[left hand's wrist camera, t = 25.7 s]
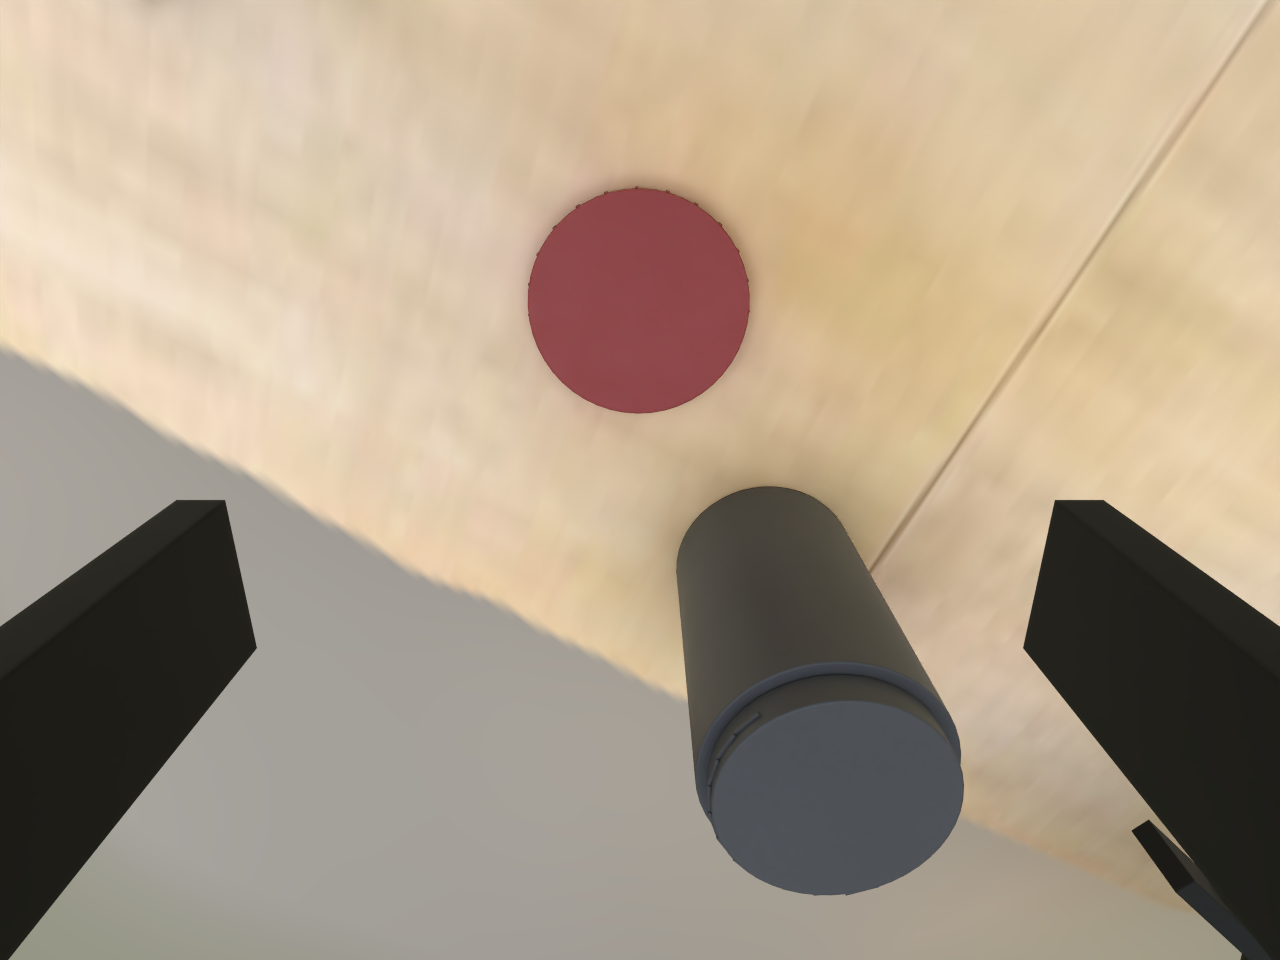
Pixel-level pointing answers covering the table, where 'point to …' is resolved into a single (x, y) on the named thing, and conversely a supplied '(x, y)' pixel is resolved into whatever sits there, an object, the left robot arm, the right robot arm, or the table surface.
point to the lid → (638, 300)
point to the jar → (808, 702)
